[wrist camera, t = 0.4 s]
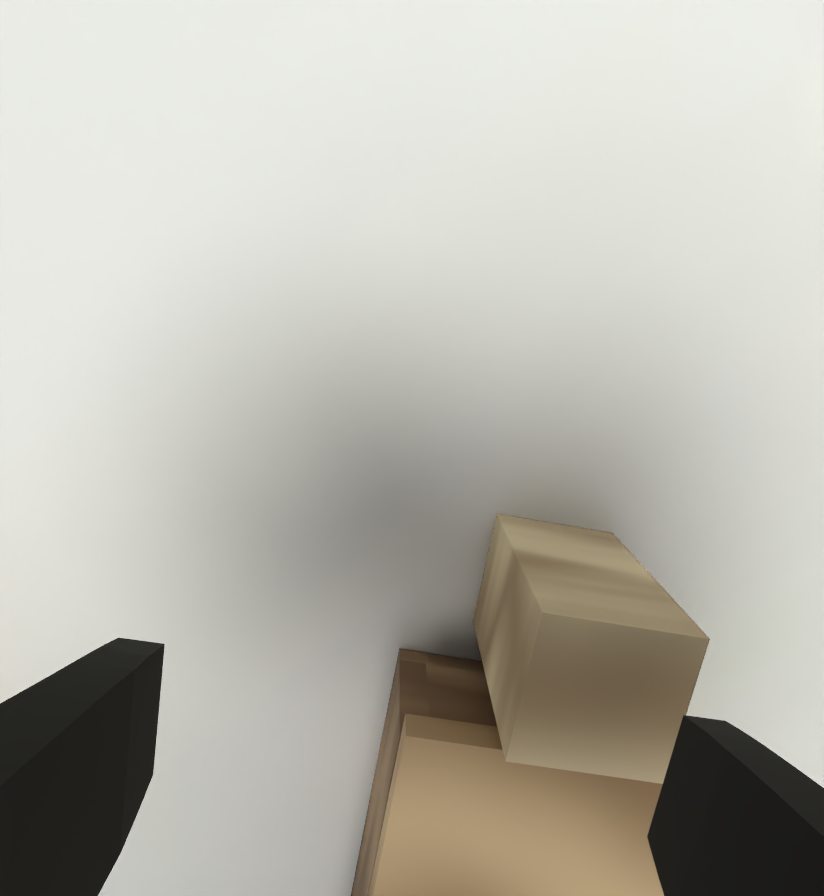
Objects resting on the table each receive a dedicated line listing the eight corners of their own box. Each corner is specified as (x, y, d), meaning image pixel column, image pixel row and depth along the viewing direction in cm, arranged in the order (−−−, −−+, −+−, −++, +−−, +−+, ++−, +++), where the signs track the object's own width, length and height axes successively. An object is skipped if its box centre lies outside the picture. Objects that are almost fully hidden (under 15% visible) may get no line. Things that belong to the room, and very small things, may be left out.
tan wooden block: (584, 638, 19) (663, 783, 14) (472, 621, 19) (505, 761, 13) (612, 533, 19) (709, 639, 13) (496, 513, 18) (542, 612, 13)
